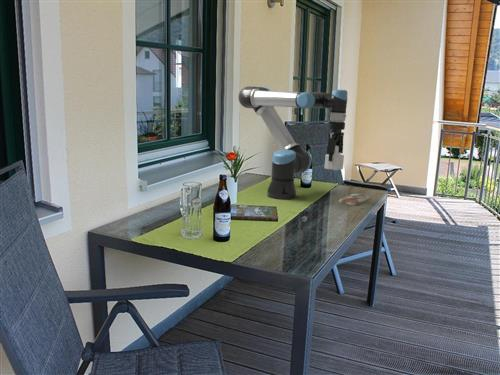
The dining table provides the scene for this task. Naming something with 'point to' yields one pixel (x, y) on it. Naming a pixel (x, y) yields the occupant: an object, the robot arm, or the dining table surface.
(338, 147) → the medicine bottle
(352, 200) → the coaster board
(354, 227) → the dining table surface
